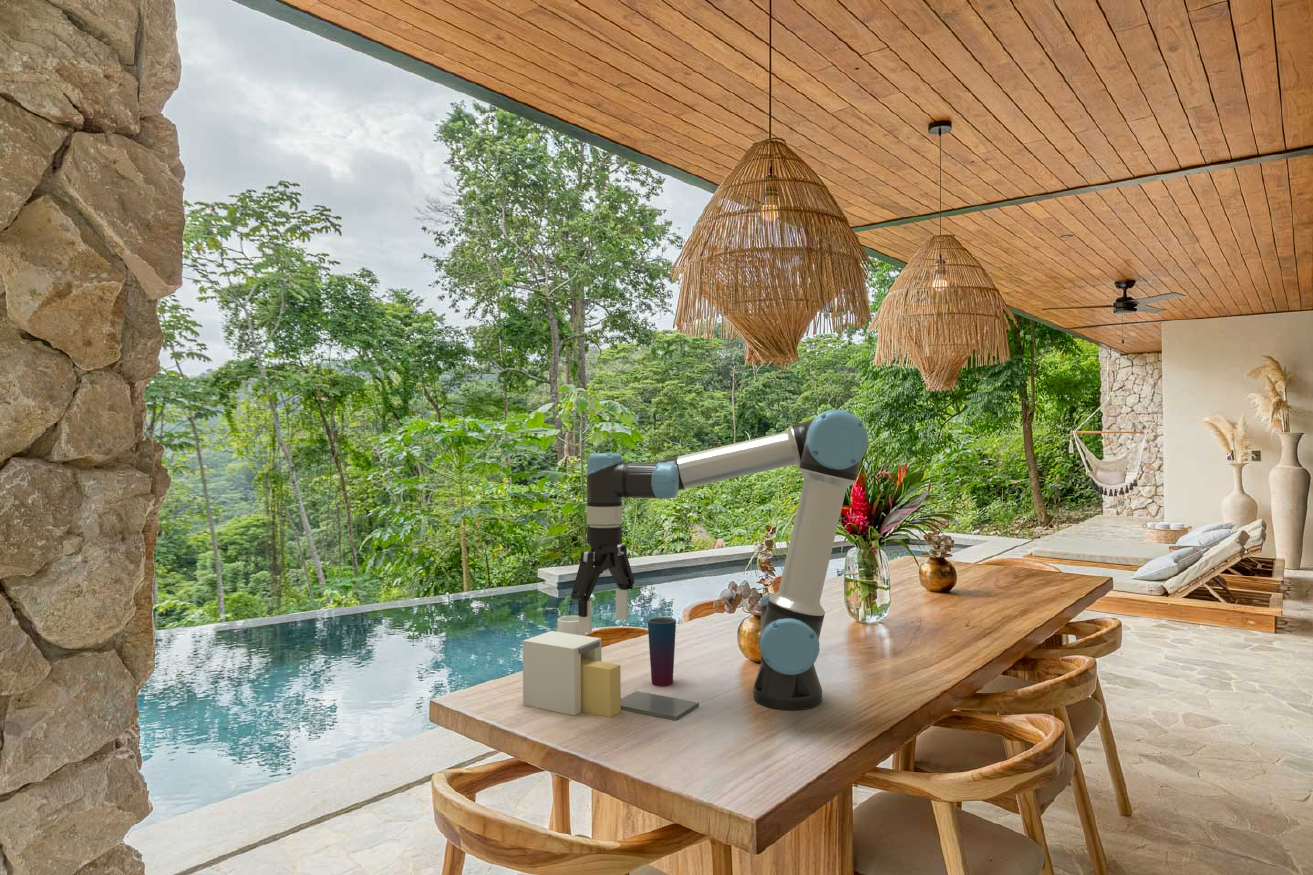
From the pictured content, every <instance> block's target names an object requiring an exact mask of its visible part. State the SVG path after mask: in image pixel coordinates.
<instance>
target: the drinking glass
mask: <svg viewBox="0 0 1313 875" xmlns="http://www.w3.org/2000/svg"><path fill="white" fill-rule="evenodd" d="M556 624H557V626H556V632H562V633H569V634H575V635H582V636H586V633H585V632H579V615H564V616H559V617H558V618H557V623H556Z"/></svg>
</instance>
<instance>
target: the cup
mask: <svg viewBox="0 0 1313 875" xmlns="http://www.w3.org/2000/svg"><path fill="white" fill-rule="evenodd" d="M676 626H677V619H676V618H674V617H669V616H658V617H656V616H655V617H650V618H648V619H647V631H648V632H647V633H648V647H649V648H648V650H649V662H650V663H649V664H650V677H651V684H652V685H653V686H655V687H668V686H671V685H673V682H674V665H675V649H676V630H677V627H676Z"/></svg>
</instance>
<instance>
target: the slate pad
mask: <svg viewBox="0 0 1313 875" xmlns="http://www.w3.org/2000/svg"><path fill="white" fill-rule="evenodd" d="M699 706H700V702H699V701H692V700H686V699H683V698H682V699H681V698H677V697H671V696H666V695H661V694H656V693H650V692H644V691H639V690H636V691H633V692H631V693H630V694H629V693H628V694H627V695H626V696H623V697H622V698H621V711H627V712H633V713H638V714H641V715H648V716H652V717H657V718H662V719H667V720H671V721H678V720H679V719H681V718H683V717H685V715H687V714H689V713H690V712H692V711H694V710H695V709H697V708H699Z"/></svg>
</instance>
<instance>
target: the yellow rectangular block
mask: <svg viewBox="0 0 1313 875" xmlns="http://www.w3.org/2000/svg"><path fill="white" fill-rule="evenodd" d="M621 676H622V675H621V664H618V663H611V662H605V661H601V662H600V661H594V660H589V659H583V658H581V712H583V713H588V714H593V715H598V716H603V717H608V718H611V717H614V716H615V715H617V714H619V713H621V712H622V709H621V699H622V698H621V697H622V696H621V695H622V694H621V691H622V690H621Z"/></svg>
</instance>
